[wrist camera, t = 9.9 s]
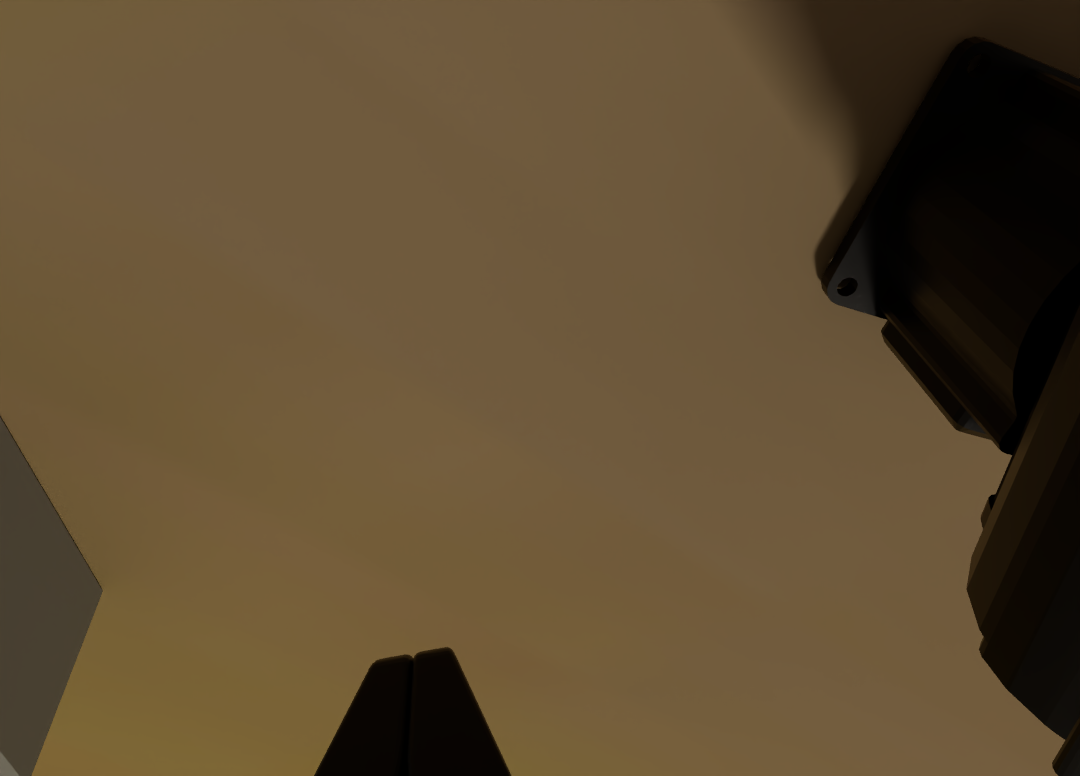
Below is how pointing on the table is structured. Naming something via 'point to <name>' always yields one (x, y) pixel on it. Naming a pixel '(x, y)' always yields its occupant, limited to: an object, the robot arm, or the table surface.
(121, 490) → the table surface
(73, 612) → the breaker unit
